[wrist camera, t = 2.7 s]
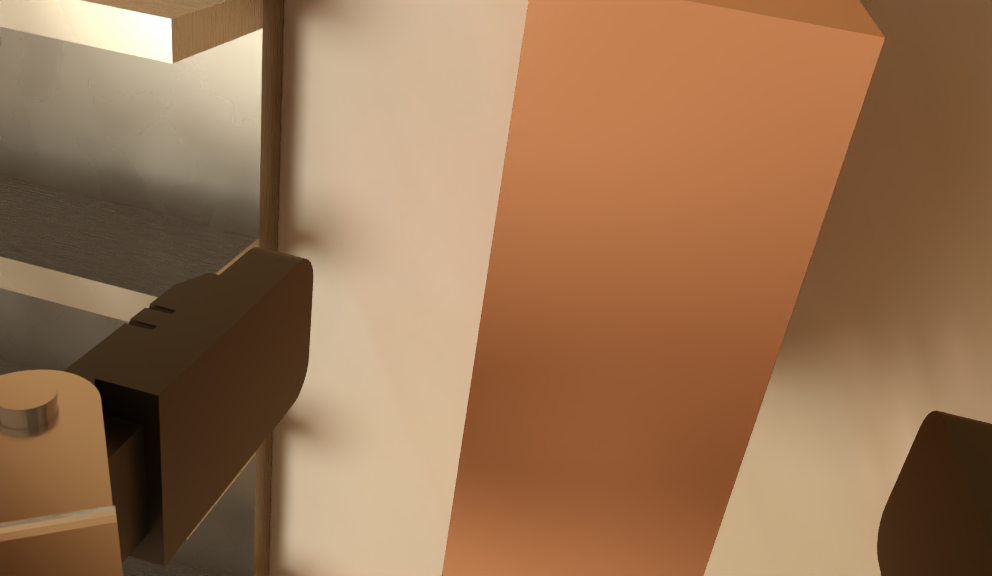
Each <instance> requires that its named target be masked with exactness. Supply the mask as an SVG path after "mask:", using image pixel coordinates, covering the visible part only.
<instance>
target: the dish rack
mask: <svg viewBox="0 0 992 576" xmlns="http://www.w3.org/2000/svg"><path fill="white" fill-rule="evenodd" d="M283 13H284V0H0V375H4V374H8V373H13V372H18V371H25V370H57V371H64V370H65V369H67V368H68V367H69V366H71V365H72V364H73V363H74V362H76V361H77V360H78V359H80V358H81V357H82V356H83V355H85V354H86V353H87V352H89V351H90V350H91V349H92V348H94V347H95V346H96V345H98V344H99V343H100V342H101V341H103V340H104V339H105V338H107V337H108V336H109V335H110V334H112V333H113V332H114V331H116V330H117V329H118V328H119V327H121V326H122V325H123V324H125V323H126V324H129V322H130V319H131V318H132V317H134V316H135V315H136V314H137V313H139V312H140V311H141V310H143V309H144V308H149V306H150V303H152V302H153V301H154V300H155V299H157V298H158V297H159V296H161V295H162V294H163V293H164V292H166V291H167V290H168V289H170V288H171V287H172V286H173V285H176V284H178V283H181V282H184V281H187V280H189V279H192V278H195V277H198V276H200V275H203V274H206V273H213V274H217V275H220V274H221V273H222V272H223V271H224V270H226V269H227V268H228V267H229V266H231V265H232V264H233V263H234V262H235V261H237V260H238V259H239V258H240V257H241V256H243V255H244V254H245V253H246V252H247V251H249V250H250V249H252V248H254V247H258V248H262V249H267V250H271V251H275V252H277V238H278V201H279V163H280V126H281V88H282V51H283ZM271 464H272V432H271V433H270V434H269V435H268V437H267V438H266V439H265V440H264V442H263V443H262V444H261V445H260V447H259V448H258V449H257V450H256V452H255V453H254V454H253V456H252V457H251V458H250V459H249V461H248V462H247V463H246V464H245V466H244V467H243V468H242V469H241V471H240V472H239V473H238V474H237V476H236V477H235V478H234V480H233V481H232V482H231V483H230V485H229V486H228V487H227V488H226V490H225V491H224V492H223V493H222V495H221V496H220V497H219V498H218V500H217V501H216V502H215V504H214V505H213V506H212V507H211V509H210V510H209V511H208V512H207V514H206V515H205V516H204V517H203V519H202V520H201V521H200V522H199V524H198V525H197V526H196V528H195V529H194V530H193V531H192V533H191V534H190V535H189V536H188V538H187V539H186V540H185V541H184V543H183V544H182V545H181V546H180V548H179V549H178V550H177V552H176V553H175V554H174V555H173V557H172V558H171V559H170V560H169V562H168V563H167V564H166V565H165V567H164V566H161V565H158V564H154V563H151V562H148V561H144V560H141V559H137V558H134V557H131V556H128V557H127V559H126V560H125V561H124V562H123V563H122V570H123V576H269V539H270V501H271Z"/></svg>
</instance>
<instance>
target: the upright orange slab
mask: <svg viewBox="0 0 992 576" xmlns="http://www.w3.org/2000/svg"><path fill="white" fill-rule="evenodd" d="M884 40H885V37H884V35H883V34H882V32H881V31H880V29H879V28H878V26H877V25H876V24H875V22H874V21H873V19H872V18H871V16H870V15H869V13H868V12H867V11H866V9H865V8H864V6H863V5H862V3H861V2H860V0H529V2H528V9H527V15H526V22H525V29H524V35H523V42H522V48H521V55H520V62H519V68H518V75H517V82H516V88H515V95H514V101H513V108H512V115H511V121H510V128H509V135H508V141H507V148H506V154H505V161H504V168H503V174H502V181H501V188H500V194H499V201H498V207H497V214H496V221H495V227H494V234H493V241H492V247H491V254H490V261H489V267H488V274H487V280H486V287H485V294H484V300H483V307H482V314H481V320H480V327H479V333H478V340H477V347H476V353H475V360H474V367H473V373H472V380H471V386H470V393H469V400H468V406H467V413H466V420H465V426H464V433H463V439H462V446H461V453H460V459H459V466H458V473H457V479H456V486H455V492H454V499H453V506H452V512H451V519H450V526H449V532H448V539H447V546H446V552H445V559H444V565H443V572H442V576H703V575H704V572H705V569H706V566H707V563H708V560H709V557H710V555H711V552H712V549H713V546H714V543H715V540H716V537H717V534H718V531H719V528H720V525H721V522H722V519H723V516H724V513H725V510H726V507H727V504H728V501H729V498H730V495H731V492H732V489H733V486H734V483H735V481H736V478H737V475H738V472H739V469H740V466H741V463H742V460H743V457H744V454H745V451H746V448H747V445H748V442H749V439H750V436H751V433H752V430H753V427H754V424H755V421H756V418H757V415H758V412H759V410H760V407H761V404H762V401H763V398H764V395H765V392H766V389H767V386H768V383H769V380H770V377H771V374H772V371H773V368H774V365H775V362H776V359H777V356H778V353H779V350H780V347H781V344H782V341H783V339H784V336H785V333H786V330H787V327H788V324H789V321H790V318H791V315H792V312H793V309H794V306H795V303H796V300H797V297H798V294H799V291H800V288H801V285H802V282H803V279H804V276H805V273H806V270H807V267H808V265H809V262H810V259H811V256H812V253H813V250H814V247H815V244H816V241H817V238H818V235H819V232H820V229H821V226H822V223H823V220H824V217H825V214H826V211H827V208H828V205H829V202H830V199H831V196H832V194H833V191H834V188H835V185H836V182H837V179H838V176H839V173H840V170H841V167H842V164H843V161H844V158H845V155H846V152H847V149H848V146H849V143H850V140H851V137H852V134H853V131H854V128H855V125H856V123H857V120H858V117H859V114H860V111H861V108H862V105H863V102H864V99H865V96H866V93H867V90H868V87H869V84H870V81H871V78H872V75H873V72H874V69H875V66H876V63H877V60H878V57H879V54H880V51H881V49H882V46H883V43H884Z"/></svg>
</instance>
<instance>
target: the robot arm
mask: <svg viewBox="0 0 992 576" xmlns="http://www.w3.org/2000/svg"><path fill="white" fill-rule="evenodd" d="M312 291H313V269H312V265H311V262H310V261H309V260H308V259H304V258H300V257H296V256H292V255H288V254H283V253H279V252H275V251H271V250H267V249H262V248H258V247H254V248H252V249H250V250H249V251H247V252H246V253H245V254H244V255H243V256H241V257H240V258H239V259H238V260H237V261H235V262H234V263H233V264H232V265H231V266H229V267H228V268H227V269H226V270H224V271H223V272H222V273H221V274H220V275H217V274H213V273H206V274H203V275H200V276H198V277H195V278H192V279H189V280H187V281H184V282H181V283H178V284H176V285H173V286H172V287H171V288H170V289H168V290H167V291H166V292H164V293H163V294H162V295H161V296H159V297H158V298H157V299H155V300H154V301H153V302H152V303H150V306H149V308H144V309H143V310H141V311H140V312H139V313H137V314H136V315H135V316H134V317H132V318H131V319H130V322H129V324H126V323H125V324H123V325H122V326H121V327H119V328H118V329H117V330H116V331H114V332H113V333H112V334H110V335H109V336H108V337H107V338H105V339H104V340H103V341H101V342H100V343H99V344H98V345H96V346H95V347H94V348H92V349H91V350H90V351H89V352H87V353H86V354H85V355H83V356H82V357H81V358H80V359H78V360H77V361H76V362H74V363H73V364H72V365H71V366H69V367H68V368H67V369H65V370H64V371H57V370H25V371H18V372H13V373H8V374H4V375H0V576H123V570H122V563H123V562H124V561H125V560H126V559H127V557H128V556H131V557H134V558H137V559H141V560H144V561H148V562H151V563H154V564H158V565H161V566H164V567H165V565H166V564H167V563H168V562H169V560H170V559H171V558H172V557H173V555H174V554H175V553H176V552H177V550H178V549H179V548H180V546H181V545H182V544H183V543H184V541H185V540H186V539H187V538H188V536H189V535H190V534H191V533H192V531H193V530H194V529H195V528H196V526H197V525H198V524H199V522H200V521H201V520H202V519H203V517H204V516H205V515H206V514H207V512H208V511H209V510H210V509H211V507H212V506H213V505H214V504H215V502H216V501H217V500H218V498H219V497H220V496H221V495H222V493H223V492H224V491H225V490H226V488H227V487H228V486H229V485H230V483H231V482H232V481H233V480H234V478H235V477H236V476H237V474H238V473H239V472H240V471H241V469H242V468H243V467H244V466H245V464H246V463H247V462H248V461H249V459H250V458H251V457H252V456H253V454H254V453H255V452H256V450H257V449H258V448H259V447H260V445H261V444H262V443H263V442H264V440H265V439H266V438H267V437H268V435H269V434H270V433H271V432H272V430H273V429H274V428H275V426H276V425H277V424H278V423H279V421H280V420H281V419H282V418H283V416H284V415H285V414H286V413H287V411H288V410H289V409H290V407H291V406H292V405H293V404H294V402H295V400H296V399H297V397H298V395H299V393H300V391H301V388H302V386H303V383H304V380H305V376H306V372H307V367H308V360H309V344H310V327H311V309H312ZM877 554H878V562H879V567H880V571H881V576H992V424H990V423H986V422H981V421H977V420H973V419H969V418H965V417H960V416H956V415H952V414H948V413H944V412H940V411H933V412H931V413H930V414H928V415H927V417H926V418H925V419H924V421H923V423H922V425H921V427H920V429H919V431H918V433H917V435H916V438H915V440H914V442H913V445H912V447H911V449H910V451H909V454H908V456H907V458H906V460H905V463H904V465H903V467H902V470H901V472H900V474H899V476H898V479H897V481H896V483H895V486H894V488H893V490H892V492H891V495H890V497H889V499H888V501H887V504H886V506H885V509H884V511H883V514H882V518H881V522H880V526H879V532H878V542H877Z"/></svg>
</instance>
